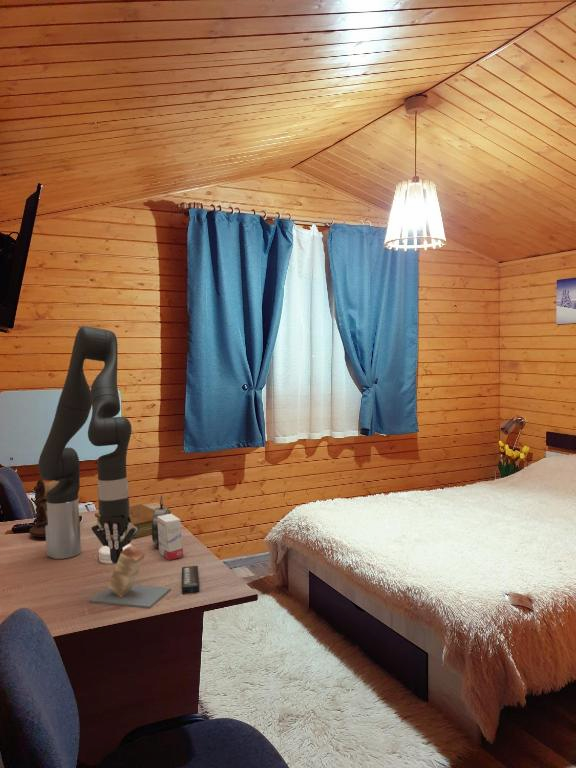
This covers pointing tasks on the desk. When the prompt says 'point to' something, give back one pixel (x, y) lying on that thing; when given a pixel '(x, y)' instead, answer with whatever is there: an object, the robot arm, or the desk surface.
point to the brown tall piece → (41, 507)
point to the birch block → (126, 571)
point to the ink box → (170, 536)
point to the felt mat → (132, 596)
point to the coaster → (107, 554)
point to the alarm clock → (157, 512)
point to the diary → (139, 520)
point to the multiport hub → (190, 579)
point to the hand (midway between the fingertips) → (117, 562)
